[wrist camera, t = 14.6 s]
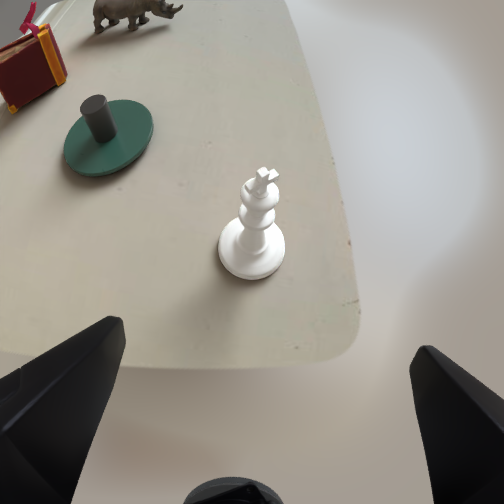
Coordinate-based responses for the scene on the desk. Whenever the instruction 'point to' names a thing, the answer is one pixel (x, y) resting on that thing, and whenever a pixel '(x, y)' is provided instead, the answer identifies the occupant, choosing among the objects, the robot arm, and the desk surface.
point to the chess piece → (254, 231)
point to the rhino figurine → (130, 11)
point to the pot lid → (107, 136)
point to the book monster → (30, 64)
